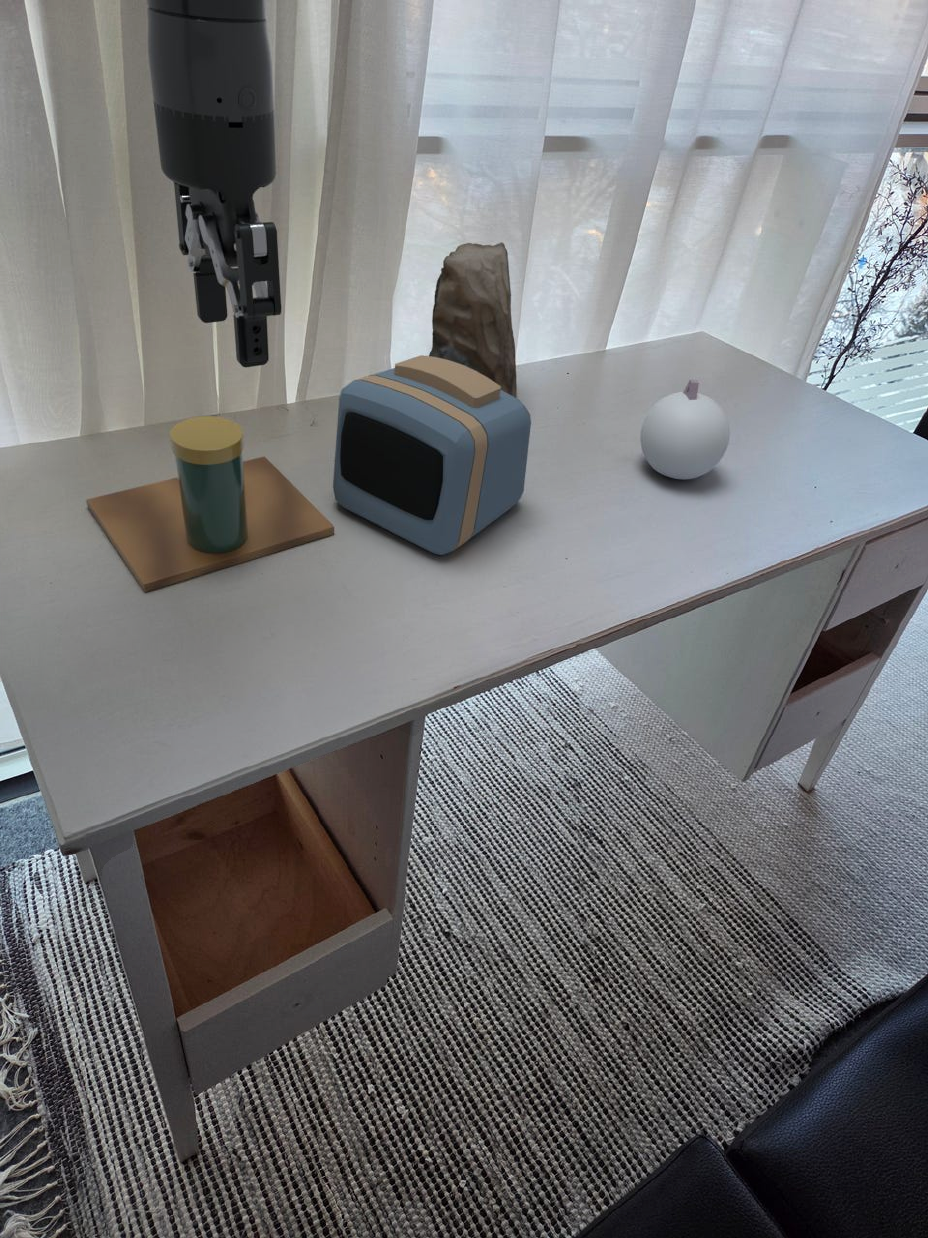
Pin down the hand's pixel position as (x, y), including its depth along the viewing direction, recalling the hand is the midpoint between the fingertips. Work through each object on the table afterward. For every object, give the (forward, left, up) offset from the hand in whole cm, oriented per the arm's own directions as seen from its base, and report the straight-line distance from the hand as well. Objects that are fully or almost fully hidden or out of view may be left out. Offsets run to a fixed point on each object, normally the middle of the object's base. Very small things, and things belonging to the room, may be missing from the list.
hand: (232, 341), depth 65 cm
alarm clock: (+23, +4, -24) cm, 34 cm away
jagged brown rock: (+41, +20, -24) cm, 52 cm away
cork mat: (+1, +12, -24) cm, 27 cm away
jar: (0, +8, -23) cm, 24 cm away
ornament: (+55, -4, -24) cm, 60 cm away
